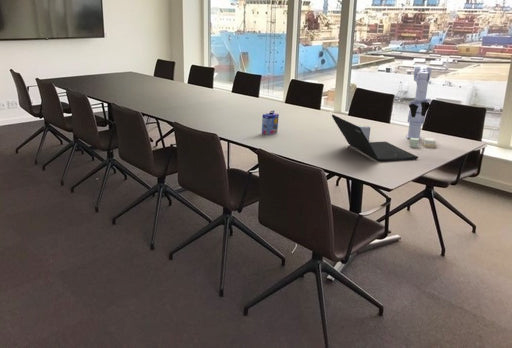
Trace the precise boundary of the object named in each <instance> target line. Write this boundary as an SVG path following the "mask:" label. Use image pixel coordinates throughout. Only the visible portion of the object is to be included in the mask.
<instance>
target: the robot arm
mask: <svg viewBox="0 0 512 348" xmlns="http://www.w3.org/2000/svg"><path fill="white" fill-rule="evenodd" d="M431 75H432V66H417V65H415V66H414V72H413V81H414V82H416V90H415V96H414V99H413V100H411V101H409V105H408V107H409V111H408V115H407V123H408V124H409V126H408V132H407V134H406V138H407V139H410V138H419V140H421V132H422V125H423V124H425V120H426V115H427V112H428V110H429V109H430V107H431V105H432V104H431V103H432V99H430V98H427V93H428V85H429V82H430V79H431Z"/></svg>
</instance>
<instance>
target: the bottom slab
mask: <svg viewBox="0 0 512 348" xmlns="http://www.w3.org/2000/svg"><path fill="white" fill-rule="evenodd" d="M422 146H423V147H425V148H433V149H435V148H437V143H436V144H435V145H432V144H424V142H423V141H422Z"/></svg>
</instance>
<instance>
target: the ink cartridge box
mask: <svg viewBox="0 0 512 348" xmlns="http://www.w3.org/2000/svg"><path fill="white" fill-rule="evenodd" d="M279 116H280V113H276V112H275V110H270V112H269V113H264V114H262V119H261V121H262V123H261V134H263V135H265V136H269V135H274V134H277V133H278V127H279Z"/></svg>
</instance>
